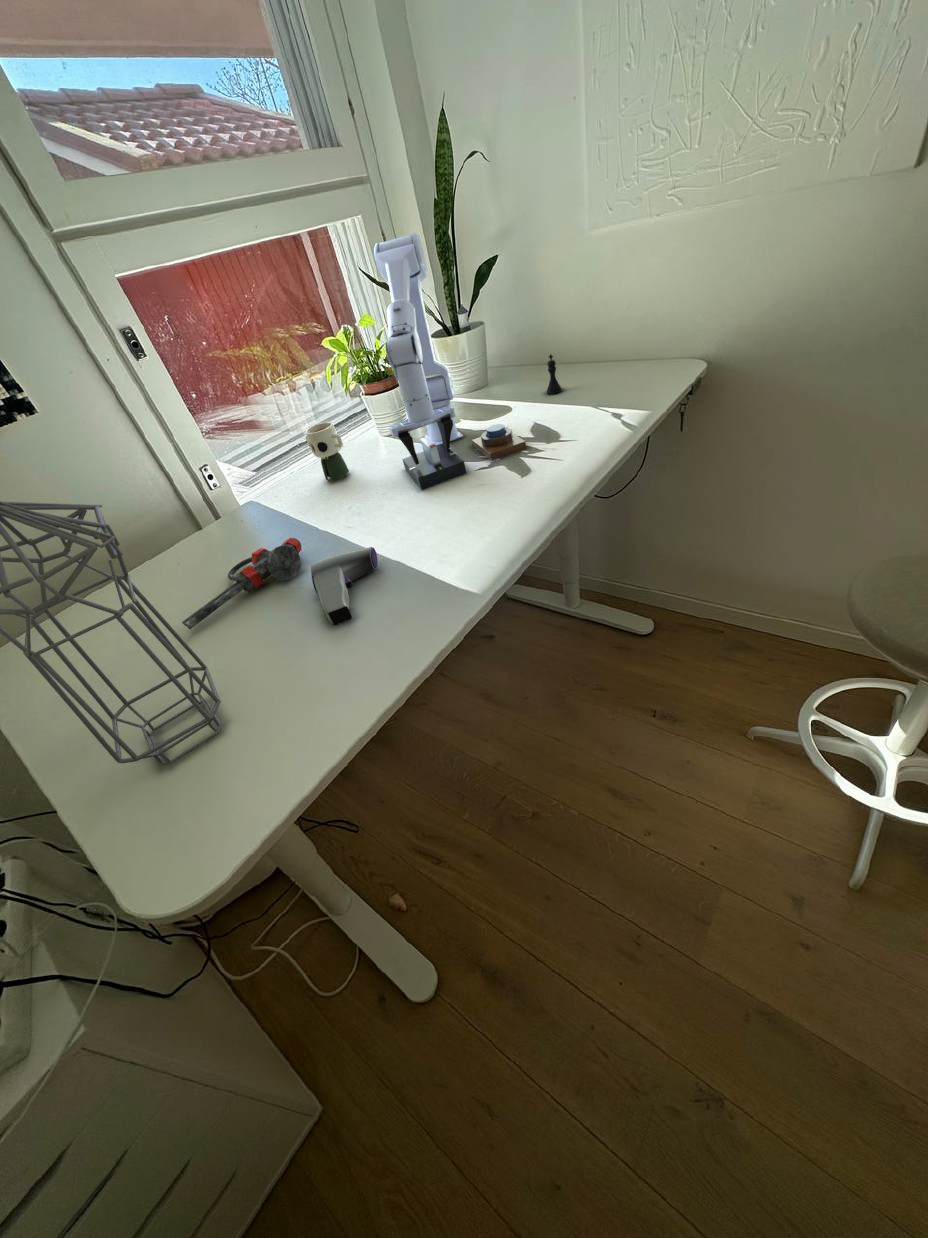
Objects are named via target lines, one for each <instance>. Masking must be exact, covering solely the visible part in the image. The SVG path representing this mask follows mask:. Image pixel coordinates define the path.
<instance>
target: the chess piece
mask: <svg viewBox="0 0 928 1238" xmlns="http://www.w3.org/2000/svg"><path fill="white" fill-rule="evenodd" d="M548 358H549V360H548V361H547V363H546V365H547V367H548V368H547V372H548V373H549V375H550V376H549V377H550V378H549V383H548V385H547V388H546V395H556V394H559V393H561V392H562V391H563V388H562V386H561V385H560V383H559V382H558V380H557V377H556V371H557V367H556V363H557V362H556V360H554V359H553V358H554V355H552V354H549V355H548Z"/></svg>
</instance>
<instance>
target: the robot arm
mask: <svg viewBox="0 0 928 1238" xmlns="http://www.w3.org/2000/svg"><path fill="white" fill-rule="evenodd" d="M373 253H374V260H375V263H376V267H377V269H378V272H379V274H380V275H381V276H382V278H383V279H384V281H385V282H386V283H387V285H388V287H389V294H390V299H391V303H390V304H389V305H388V306H387V309H386V314H387V315H386V316H387V328H388V340H386V341H385V343H384V344H385V345H384V347H385V353H386V357H387V361H388V363H389V366H390V368H391V369H392V374H393V375H394V378H395V379H397V382H398V385H399V386H398V387H399V390H400V393H401V394H400V395H401V396H402V401H403V404H404V405H403V406H404V409H405V412H406V415H407V418H406V419H404V420H402V421H400V422H398V423H396V424H394V425H392V426H389V430H390V433H391V436H392V437H393V439H396V438H398V439H399V441H401V443H402V444H403V445H404V447H405V448H406V450H407V451H408V453H409V455H410V456H412V459H413V461H414V463H415V464H416V465H417V464H419V461H418V458H417V455H416V454H417V452H416V449H415V444H414V439H413V437H412V435H411V433H410V432H412V431H415V430H417V429H420V428H424V427H426V432H427V434H425V435H424V438H425V437H427V438H428V439H429V440H431V441H432V442H433V443H434V444H435V445H436V446H437V447H438V446H441V445H443V447H444V450H445V452H446V453H447V454H448V453H450V450H451V442H452V441H455V440H458V439H461V438H463V437H464V434H462V433H461V432H459V431H458V429H457V424H456V421H455V417H456V413H455V409H454V407H452V401H453V400H454V398H455V389H454V382H453V379H452V376H451V373H450V369H449V367H448V365H446V364H444V363H442V362H440V361H438V360H436V356H435V351H434V346H433V341H432V335H431V331H430V326H429V322H428V316H427V312H426V309H425V307H426V306H425V302H424V298H423V293H422V291H423V290H422V282H423V281H424V280H425V279H426V278H427V277H428V269H427V268H428V267H427V264H426V258H425V255H424V249H423V244H422V241H421V237H420V236H419V234H417V233H416V232H413V233H412V234H408V235H405V236H401V237H397V238H393V239H390V240H386V241H382V242H376V243H375V245H374V247H373Z"/></svg>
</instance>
